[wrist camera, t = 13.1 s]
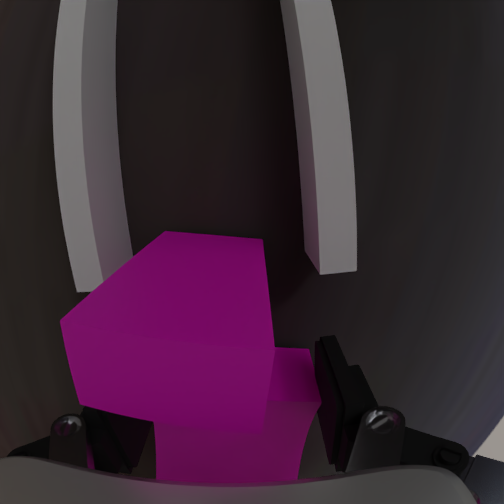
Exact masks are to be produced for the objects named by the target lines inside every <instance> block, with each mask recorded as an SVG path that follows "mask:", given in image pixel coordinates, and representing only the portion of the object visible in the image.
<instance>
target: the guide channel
mask: <svg viewBox="0 0 504 504" xmlns="http://www.w3.org/2000/svg"><path fill="white" fill-rule="evenodd" d="M117 4H118V0H61V3H60V9H59V16H58V24H57V33H56V43H55V55H54V72H53V134H54V152H55V165H56V176H57V185H58V193H59V201H60V208H61V215H62V221H63V227H64V233H65V239H66V244H67V249H68V254H69V259H70V264H71V268H72V273H73V277H74V281H75V285H76V289H77V292H91V291H93V290H95V289H96V288H97V287H98V286H99V285H100V284H102V283H103V282H104V281H105V280H106V279H107V278H109V277H110V276H111V275H112V274H113V273H114V272H116V271H117V270H118V269H119V268H120V267H122V266H123V265H124V264H125V263H126V262H128V261H129V260H130V259H131V258H132V257H133V253H132V247H131V241H130V235H129V229H128V222H127V215H126V208H125V200H124V192H123V184H122V175H121V165H120V154H119V142H118V128H117V109H116V71H115V58H116V21H117ZM280 4H281V11H282V17H283V24H284V31H285V38H286V46H287V53H288V61H289V69H290V77H291V86H292V95H293V104H294V114H295V124H296V134H297V145H298V157H299V169H300V182H301V196H302V212H303V229H304V248H305V252H306V253H307V255H308V257H309V258H310V260H311V261H312V263H313V264H314V266H315V268H316V269H317V271H318V272H319V274H320V275H322V274H332V273H342V272H352V271H357V223H356V194H355V175H354V160H353V147H352V136H351V125H350V116H349V107H348V98H347V90H346V83H345V76H344V69H343V62H342V56H341V50H340V44H339V39H338V33H337V28H336V22H335V17H334V13H333V8H332V3H331V0H280Z"/></svg>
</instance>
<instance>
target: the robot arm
mask: <svg viewBox="0 0 504 504" xmlns="http://www.w3.org/2000/svg"><path fill="white" fill-rule="evenodd" d="M315 378H316V382H317V386H318V390H319V394H320V397H321V401H322V402H321V405H320V407H319V408H318V410H317V413H318V417H319V422H320V426H321V430H322V434H323V439H324V443H325V448H326V452H327V457H328V461H329V464H330V465H331V464H335V468H336V472H337V471H342V472H344V474H337V475H331V476H323V477H316V478H307V479H298V480H288V481H275V482H258V483H198V482H181V481H168V480H158V479H149V478H141V477H134V476H127V475H121V474H117V473H119V472H121V473H128V474H131V472H132V469H133V467H136V466H137V464H138V462H139V459H140V456H141V453H142V450H143V447H144V444H145V441H146V438H147V435H148V432H149V430H150V427H151V424H152V421H148V420H143V419H138V418H133V417H129V416H124V415H120V414H115V413H111V412H107V411H103V410H99V409H96V408H92V407H88V406H84V408H83V411H82V413H81V415H78V414H74V413H73V414H65V415H62V416H60V417H58V418H57V419H56V420H55V421H54V422H53V424H52V426H51V431H50V436H48V437H45V438H43V439H40V440H37V441H35V442H32V443H29V444H27V445H24V446H21V447H19V448H16V449H14V450H13V451H11V452H10V453H9V454H8V456H7V457H5V458H1V459H0V504H504V462H501V461H497V460H494V459H490V458H487V457H483V456H480V455H476V457H471V456H469V453H468V451H467V450H466V448H465V447H463V446H462V445H461V444H458V443H456V442H453V441H449V440H446V439H443V438H439V437H436V436H433V435H430V434H426V433H423V432H420V431H417V430H414V429H411V428H408V427H405V417H404V416H403V414H402V413H401V412H400V411H399V410H397V409H394V408H392V407H387V406H378V404H377V402H376V400H375V398H374V395H373V393H372V391H371V389H370V387H369V385H368V383H367V381H366V379H365V376H364V374H363V372H362V370H361V368H360V366H359V365H353V366H348V364H347V362H346V359H345V357H344V355H343V352H342V350H341V348H340V346H339V343H338V341H337V339H336V337H335V335H332V336H324V337H320V341H315Z"/></svg>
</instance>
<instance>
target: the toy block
mask: <svg viewBox="0 0 504 504" xmlns="http://www.w3.org/2000/svg"><path fill="white" fill-rule="evenodd" d="M60 324H61V329H62V334H63V339H64V344H65V349H66V353H67V357H68V362H69V366H70V370H71V374H72V378H73V381H74V385H75V389H76V392H77V396H78V399H79V402H80V404H81V405H85V406H88V407H92V408H96V409H99V410H103V411H107V412H111V413H115V414H120V415H124V416H129V417H133V418H138V419H143V420H148V421H153V422H154V430H155V442H156V479H158V480H168V481H181V482H198V483H258V482H275V481H288V480H297V478H298V472H299V466H300V461H301V456H302V452H303V447H304V444H305V440H306V437H307V433H308V430H309V428H310V425H311V422H312V420H313V418H314V415H315V414H316V412H317V410H318V408H319V407H320V405H321V402H322V401H321V397H320V394H319V390H318V386H317V382H316V378H315V370H314V366H313V362H312V359H311V355H310V352H309V349H301V348H281V347H275V345H274V336H273V326H272V317H271V308H270V299H269V290H268V282H267V273H266V264H265V255H264V247H263V239H254V238H243V237H231V236H219V235H208V234H196V233H183V232H171V231H165V232H163V233H162V234H161V235H159V236H158V237H157V238H156V239H154V240H153V241H152V242H151V243H150V244H148V245H147V246H146V247H145V248H143V249H142V250H141V251H140V252H138V253H137V254H136V255H135V256H134V257H132V258H131V259H130V260H129V261H128V262H126V263H125V264H124V265H123V266H122V267H120V268H119V269H118V270H117V271H116V272H114V273H113V274H112V275H111V276H110V277H109V278H107V279H106V280H105V281H104V282H103V283H102V284H100V285H99V286H98V287H97V288H96V289H95V290H93V291H92V292H91V293H90V294H89V295H88V296H87V297H86V298H84V299H83V300H82V301H81V302H80V303H79V304H78V305H77V306H75V307H74V308H73V309H72V310H71V311H70V312H69V313H68V314H67V315H65V316H64V317H63V318H62V319H61V320H60Z"/></svg>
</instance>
